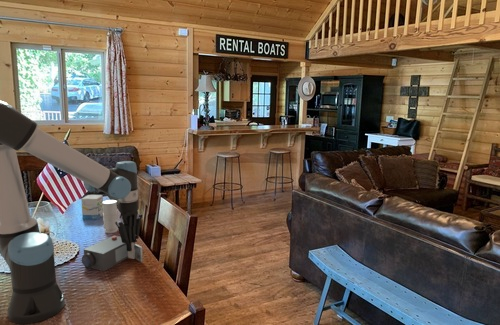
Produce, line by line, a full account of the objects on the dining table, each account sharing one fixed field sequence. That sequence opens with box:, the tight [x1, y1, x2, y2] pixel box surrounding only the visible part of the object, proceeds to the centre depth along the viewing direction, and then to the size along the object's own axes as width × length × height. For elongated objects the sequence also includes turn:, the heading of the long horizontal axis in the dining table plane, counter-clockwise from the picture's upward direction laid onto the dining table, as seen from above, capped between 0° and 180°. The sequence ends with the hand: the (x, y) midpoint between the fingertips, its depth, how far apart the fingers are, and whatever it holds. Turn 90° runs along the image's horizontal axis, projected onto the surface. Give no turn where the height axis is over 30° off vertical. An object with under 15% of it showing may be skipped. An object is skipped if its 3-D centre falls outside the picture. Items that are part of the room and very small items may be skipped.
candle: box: [102, 199, 119, 234], centre depth 180 cm, size 7×7×15 cm
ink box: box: [80, 194, 104, 220], centre depth 201 cm, size 8×8×12 cm
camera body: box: [81, 235, 129, 272], centre depth 147 cm, size 18×10×8 cm, turn 156°
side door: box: [133, 243, 144, 263], centre depth 149 cm, size 9×1×6 cm, turn 49°
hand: (131, 258), depth 147 cm, fingers closed
